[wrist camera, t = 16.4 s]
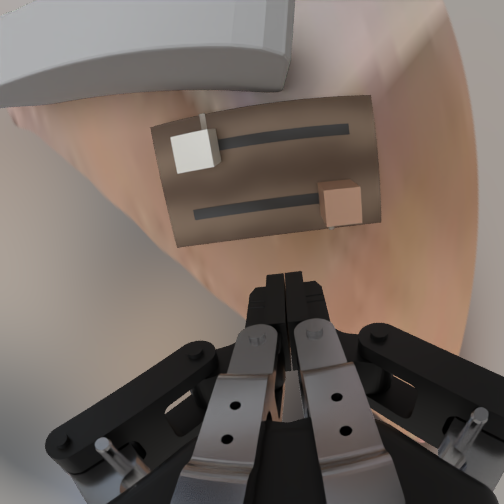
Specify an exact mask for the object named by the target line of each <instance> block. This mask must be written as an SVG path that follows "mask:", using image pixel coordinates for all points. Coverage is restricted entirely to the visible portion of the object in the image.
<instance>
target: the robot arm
mask: <svg viewBox="0 0 504 504" xmlns="http://www.w3.org/2000/svg"><path fill="white" fill-rule="evenodd" d="M285 285H286V288H285ZM290 347H291V352H290ZM291 355H292V364H293V370H298V376H299V388H300V394H301V400H302V406H303V412H304V419H301V420H297V421H293V422H289V423H285V422H282V415H283V404H284V393H285V383H284V382H285V378H286V377H285V371H291ZM393 375H395V376H397V377H399V378H400V379H402V380H404V381H406V382H408V383H410V384H411V385H413V386H414V387H415V388H414V387H412V386H410V385H409V384H407V383H405V382H403V381H401V380H400V379H398V378H396V377H394V376H393ZM189 390H190V392H191V395H190V396H189V397H187V398H186V399H185V400H183V401H182V402H181V403H179V404H178V405H177V406H176V407H174V408H173V409H171V410H170V411H169V412H167V413H166V414H165V410H166V409H167V407H168V406H169V405H170V404H172V403H173V402H174V401H176V400H177V399H178V398H180V397H181V396H182V395H184V394H185V393H187V392H188V391H189ZM371 408H372V409H373V410H375V411H376V412H378V413H379V414H381V415H383V416H384V417H386V418H387V419H389V420H391V421H392V422H394V423H395V424H397V425H399V426H400V427H402V428H404V429H405V430H407V431H409V432H410V433H412V434H413V435H415V436H417V437H419V438H420V439H422V440H424V441H425V442H427V443H429V444H430V445H432V446H434V447H436V448H437V449H438V456H437V455H436V454H434V453H432V452H430V451H429V450H427V449H426V448H425V447H423V446H421V445H420V444H418V443H417V442H415V441H414V440H412V439H411V438H409V437H408V436H406V435H405V434H403V433H402V432H400V431H399V430H397V429H396V428H394V427H393V426H391V425H389V424H387V423H385V422H383V421H380V420H377V419H374V417H373V414H372V411H371ZM45 449H46V452H47V453H48V455H49V456H50V457H51V458H52V459H53V460H54V461H55V462H56V463H57V464H59V465H60V466H61V468H62V469H63V470H64V471H65V472H66V473H67V474H68V475H70V476H71V477H72V479H73V481H74V482H75V484H76V486H77V488H78V489H79V491H80V493H81V494H82V496H83V497H84V499H85V501H86V502H87V504H499V503H498V500H497V498H496V496H495V494H494V493H493V490H494V489H495V487H496V485H497V483H498V482H499V480H500V478H501V476H502V474H503V473H504V377H503V376H501V375H499V374H496V373H494V372H492V371H489V370H487V369H485V368H483V367H481V366H479V365H476V364H474V363H472V362H470V361H467V360H465V359H463V358H461V357H459V356H457V355H454V354H452V353H450V352H448V351H446V350H444V349H441V348H439V347H437V346H435V345H433V344H430V343H428V342H426V341H424V340H422V339H420V338H417V337H415V336H413V335H411V334H409V333H407V332H404V331H402V330H400V329H398V328H396V327H394V326H391V325H389V324H385V323H373V324H369V325H367V326H365V327H363V328H362V329H361V330H360V332H359V334H348V333H343V332H341V331H338V330H337V329H335V327H334V325H333V324H332V323H331V322H330V318H329V314H328V310H327V306H326V302H325V298H324V295H323V290H322V286H320V285H319V284H318V283H317V282H316V281H310V282H303V277H302V271H298V272H289V273H285V280H284V274H283V273H281V274H272V275H267V277H266V287H257V288H255V289H254V290H253V291H252V293H251V294H250V297H249V304H248V311H247V319H246V326H245V329H243V330H242V331H241V332H240V333H239V334H238V337H237V340H236V342H235V343H234V344H232V345H229V346H226V347H223V348H219V349H216V350H215V347H214V345H212V344H211V343H209V342H207V341H195V342H190V343H188V344H186V345H184V346H183V347H181V348H180V349H178V350H177V351H175V352H174V353H172V354H171V355H169V356H168V357H166V358H165V359H163V360H162V361H161V362H159V363H158V364H156V365H155V366H153V367H151V368H150V369H149V370H147V371H146V372H144V373H142V374H141V375H139V376H138V377H136V378H135V379H133V380H132V381H130V382H129V383H127V384H126V385H124V386H123V387H121V388H120V389H118V390H117V391H115V392H113V393H112V394H110V395H109V396H107V397H106V398H104V399H103V400H101V401H99V402H98V403H96V404H95V405H93V406H91V407H90V408H88V409H87V410H85V411H83V412H82V413H80V414H79V415H77V416H75V417H74V418H72V419H70V420H69V421H67V422H66V423H64V424H62V425H61V426H59V427H57V428H56V429H54V430H53V431H52V432H51V433H50V434H49V435H48V437H47V439H46V443H45Z"/></svg>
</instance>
